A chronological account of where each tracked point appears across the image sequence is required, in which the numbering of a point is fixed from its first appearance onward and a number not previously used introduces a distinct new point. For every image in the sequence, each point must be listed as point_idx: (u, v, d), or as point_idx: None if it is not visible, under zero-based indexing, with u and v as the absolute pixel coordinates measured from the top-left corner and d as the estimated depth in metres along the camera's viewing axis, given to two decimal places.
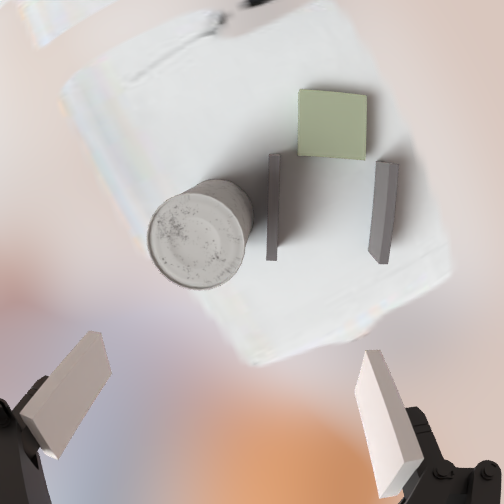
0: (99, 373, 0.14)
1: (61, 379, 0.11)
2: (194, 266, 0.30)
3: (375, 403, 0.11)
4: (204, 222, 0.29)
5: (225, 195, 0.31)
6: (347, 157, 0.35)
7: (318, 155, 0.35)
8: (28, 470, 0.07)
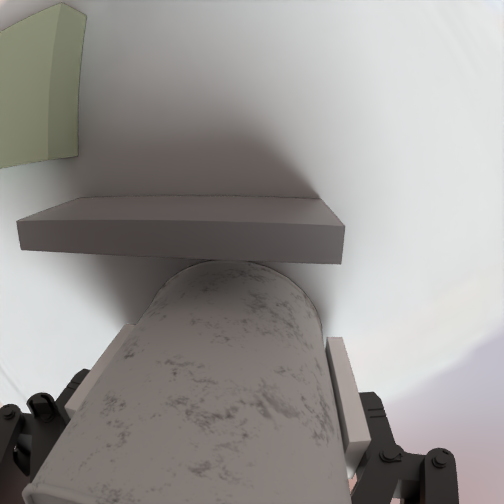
0: None
1: None
2: None
3: (332, 387, 0.12)
4: None
5: None
6: (52, 41, 0.10)
7: (46, 110, 0.11)
8: None
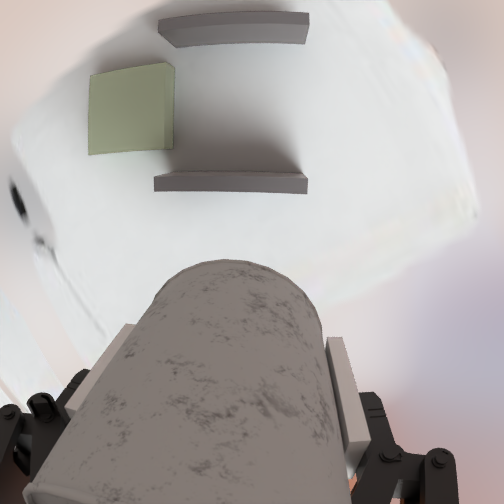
0: None
1: None
2: None
3: (332, 387, 0.12)
4: None
5: None
6: (163, 85, 0.24)
7: (162, 123, 0.25)
8: None
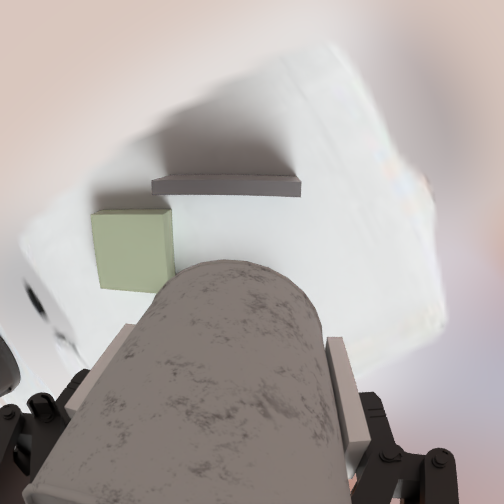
0: None
1: None
2: None
3: (332, 387, 0.12)
4: None
5: None
6: (162, 238, 0.29)
7: (165, 272, 0.30)
8: None
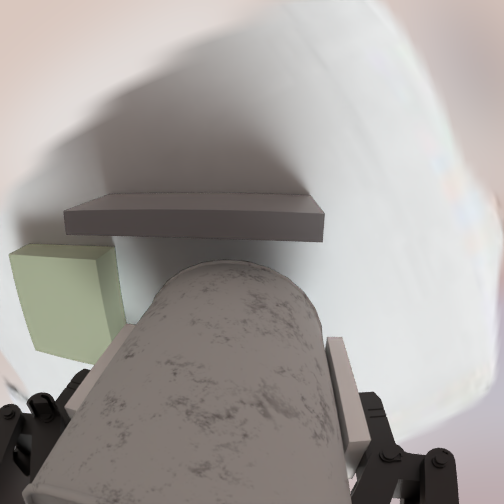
0: None
1: None
2: None
3: (332, 387, 0.12)
4: None
5: None
6: (99, 294, 0.17)
7: (109, 342, 0.18)
8: None
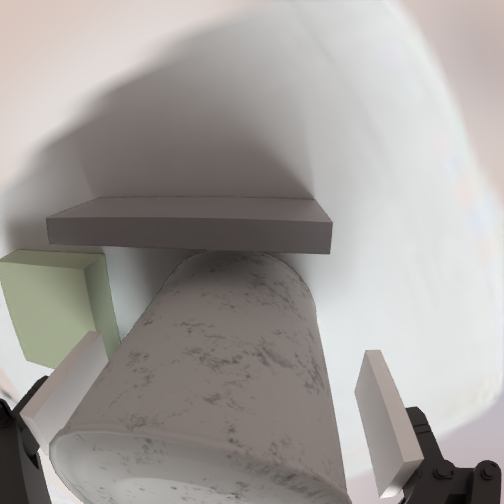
0: (99, 373, 0.14)
1: (61, 379, 0.11)
2: None
3: (375, 403, 0.11)
4: (125, 487, 0.07)
5: None
6: (88, 305, 0.16)
7: None
8: (28, 470, 0.07)
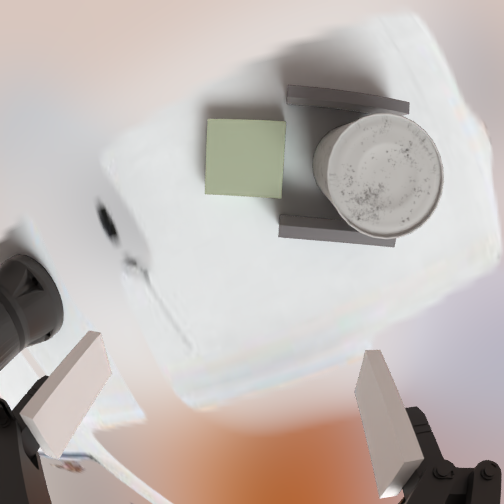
0: (99, 373, 0.14)
1: (61, 379, 0.11)
2: (415, 181, 0.21)
3: (375, 403, 0.11)
4: (364, 159, 0.21)
5: (332, 138, 0.24)
6: (283, 142, 0.30)
7: (281, 176, 0.32)
8: (28, 470, 0.07)
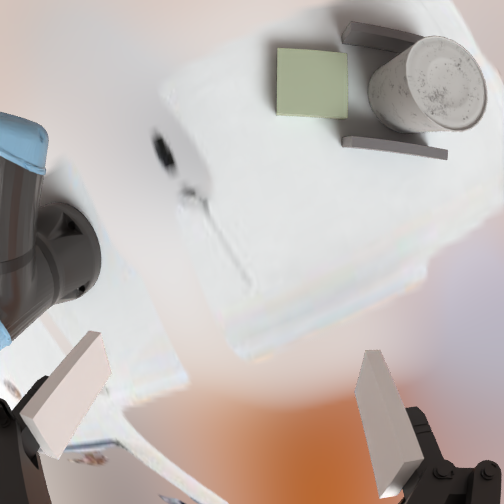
0: (99, 373, 0.14)
1: (61, 379, 0.11)
2: (468, 89, 0.21)
3: (375, 403, 0.11)
4: (431, 68, 0.21)
5: (397, 58, 0.24)
6: (346, 70, 0.30)
7: (346, 98, 0.31)
8: (28, 470, 0.07)
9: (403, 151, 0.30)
